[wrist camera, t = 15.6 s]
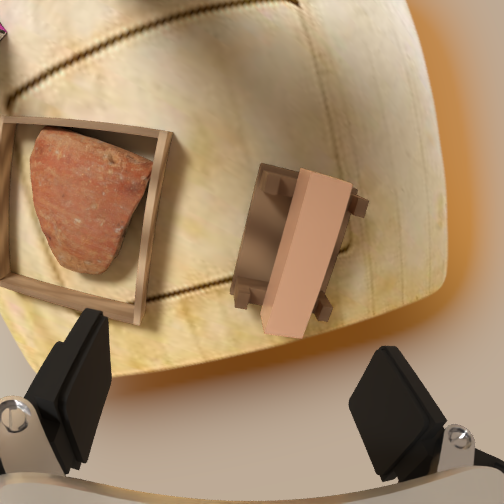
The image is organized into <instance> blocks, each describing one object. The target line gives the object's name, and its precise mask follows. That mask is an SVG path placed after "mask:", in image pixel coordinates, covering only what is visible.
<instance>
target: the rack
mask: <svg viewBox="0 0 504 504" xmlns="http://www.w3.org/2000/svg"><path fill="white" fill-rule="evenodd" d="M298 175H299V172H296V171H292V170H288V169H284V168H280V167H276V166H272V165H268V164H264V163H260V167H259V172H258V176H257V180H256V184H255V188H254V192H253V196H252V200H251V204H250V208H249V213H248V217H247V221H246V225H245V229H244V233H243V238H242V242H241V246H240V250H239V254H238V259H237V263H236V267H235V271H234V275H233V280H232V284H231V288H230V294H231V295H234V301H235V308H241V309H247V305H248V303H251V304H257V305H263V302H264V298H265V295H266V291H267V288H268V284H269V281H270V277H271V274H272V270H273V267H274V263H275V260H276V256H277V253H278V249H279V246H280V242H281V238H282V235H283V231H284V227H285V224H286V220H287V216H288V213H289V209H290V205H291V202H292V198H293V194H294V191H295V187H296V183H297V179H298ZM357 191H358V189H356V188H353V187H352V190H351V193H350V197H349V200H348V204H347V207H346V211H345V214H344V217H343V221H342V224H341V227H340V230H339V234H338V237H337V240H336V243H335V246H334V249H333V252H332V255H331V258H330V262H329V265H328V268H327V271H326V273H325V276H324V279H323V282H322V285H321V288H320V291H319V294H318V297H317V299H316V302H315V305H314V308H313V311H312V313H314V314H315V316H316V318H317V320H319V321H326V322H328V320H329V317H330V314H331V312H332V309H333V307H332V305H331V304H330V302H329V300H328V299H327V297H326V295H325V291H326V288H327V286H328V283H329V280H330V277H331V274H332V271H333V268H334V265H335V262H336V259H337V256H338V253H339V250H340V247H341V244H342V241H343V237H344V234H345V231H346V228H347V225H348V221H349V218H350V215H351V214H353V215H355V216H359V217H363V218H364V216H365V213H366V210H367V206H368V203H369V200H366V199H364V198H362V197H360V196H358V195H356V194H357Z"/></svg>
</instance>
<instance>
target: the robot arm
mask: <svg viewBox="0 0 504 504" xmlns="http://www.w3.org/2000/svg"><path fill="white" fill-rule="evenodd" d="M111 379H112V374H111V362H110V346H109V322H108V317H106V316H104V315H103V312H102V311H100V310H95V309H90V308H85V309H84V311H83V312H82V314H81V315H80V317H79V319H78V320H77V322H76V323H75V325H74V326H73V328H72V330H71V331H70V333H69V335H68V336H67V338H66V340H65V341H64V342H60V341H58V342H57V343H56V344H55V345H54V346H53V348H52V350H51V351H50V353H49V355H48V356H47V358H46V360H45V361H44V363H43V365H42V366H41V368H40V370H39V371H38V373H37V375H36V377H35V378H34V380H33V382H32V384H31V385H30V387H29V389H28V391H27V393H26V395H25V396H24V398H22V397H19V396H6V397H3V398H1V399H0V504H504V461H502V460H500V459H498V458H496V457H494V456H492V455H489V454H487V453H485V452H482V451H480V450H478V449H476V448H475V440H474V437H473V435H472V434H471V432H470V431H469V430H468V429H466V428H465V427H463V426H461V425H458V424H451V425H448V427H447V428H445V429H444V428H443V425H444V424H445V423H446V422H447V420H446V418H445V416H444V415H443V414H442V412H441V411H440V409H439V407H438V406H437V404H436V403H435V401H434V400H433V398H432V397H431V395H430V394H429V392H428V391H427V389H426V388H425V387H424V385H423V383H422V382H421V381H420V379H419V378H418V376H417V375H416V373H415V372H414V370H413V369H412V368H411V366H410V365H409V364H408V362H407V360H406V359H405V358H404V356H403V355H402V353H401V352H400V351H399V349H398V348H397V347H395V346H381V347H380V348H379V349H378V350H376V352H375V353H374V355H373V357H372V359H371V361H370V363H369V365H368V366H367V368H366V370H365V372H364V374H363V376H362V378H361V380H360V381H359V383H358V385H357V387H356V389H355V390H354V392H353V394H352V396H351V397H350V399H349V409H350V411H351V414H352V416H353V418H354V421H355V423H356V426H357V428H358V430H359V433H360V435H361V438H362V440H363V442H364V445H365V447H366V450H367V452H368V455H369V457H370V460H371V462H372V464H373V467H374V469H375V472H376V474H377V475H380V477H381V480H382V482H385V481H389V480H393V479H395V478H396V477H398V480H399V481H398V483H397V484H392V485H388V486H384V487H379V488H374V489H369V490H365V491H359V492H353V493H347V494H340V495H333V496H325V497H316V498H307V499H295V500H278V501H222V500H205V499H193V498H183V497H175V496H167V495H160V494H152V493H145V492H140V491H134V490H129V489H124V488H118V487H114V486H109V485H105V484H100V483H95V482H91V481H86V480H82V479H77V478H71V477H66V474H68V473H69V471H70V468H73V469H76V470H79V469H80V465H81V462H82V463H86V462H87V460H88V457H89V453H90V450H91V446H92V443H93V439H94V436H95V433H96V429H97V426H98V423H99V419H100V416H101V413H102V409H103V406H104V404H105V400H106V397H107V394H108V391H109V388H110V385H111Z"/></svg>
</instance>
